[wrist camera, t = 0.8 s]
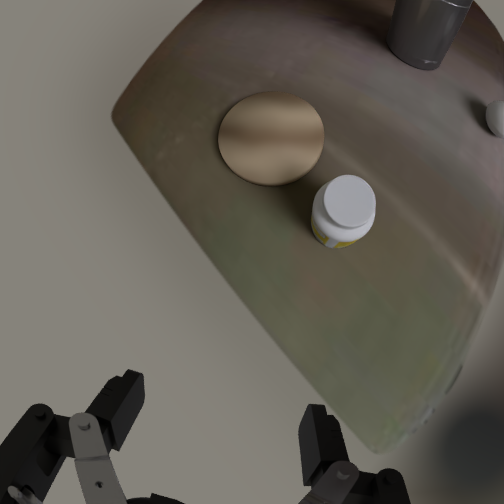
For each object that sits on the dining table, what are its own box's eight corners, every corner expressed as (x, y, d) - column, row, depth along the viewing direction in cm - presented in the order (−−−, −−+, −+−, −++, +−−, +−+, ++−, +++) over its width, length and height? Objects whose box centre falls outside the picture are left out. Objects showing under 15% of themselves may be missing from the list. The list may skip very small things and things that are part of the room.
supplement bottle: (366, 210, 28) (393, 183, 18) (349, 256, 28) (371, 250, 19) (320, 191, 29) (327, 155, 20) (302, 237, 29) (302, 220, 20)
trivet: (225, 101, 32) (222, 95, 30) (320, 97, 30) (320, 90, 28) (218, 187, 31) (214, 184, 30) (325, 186, 29) (326, 182, 28)
